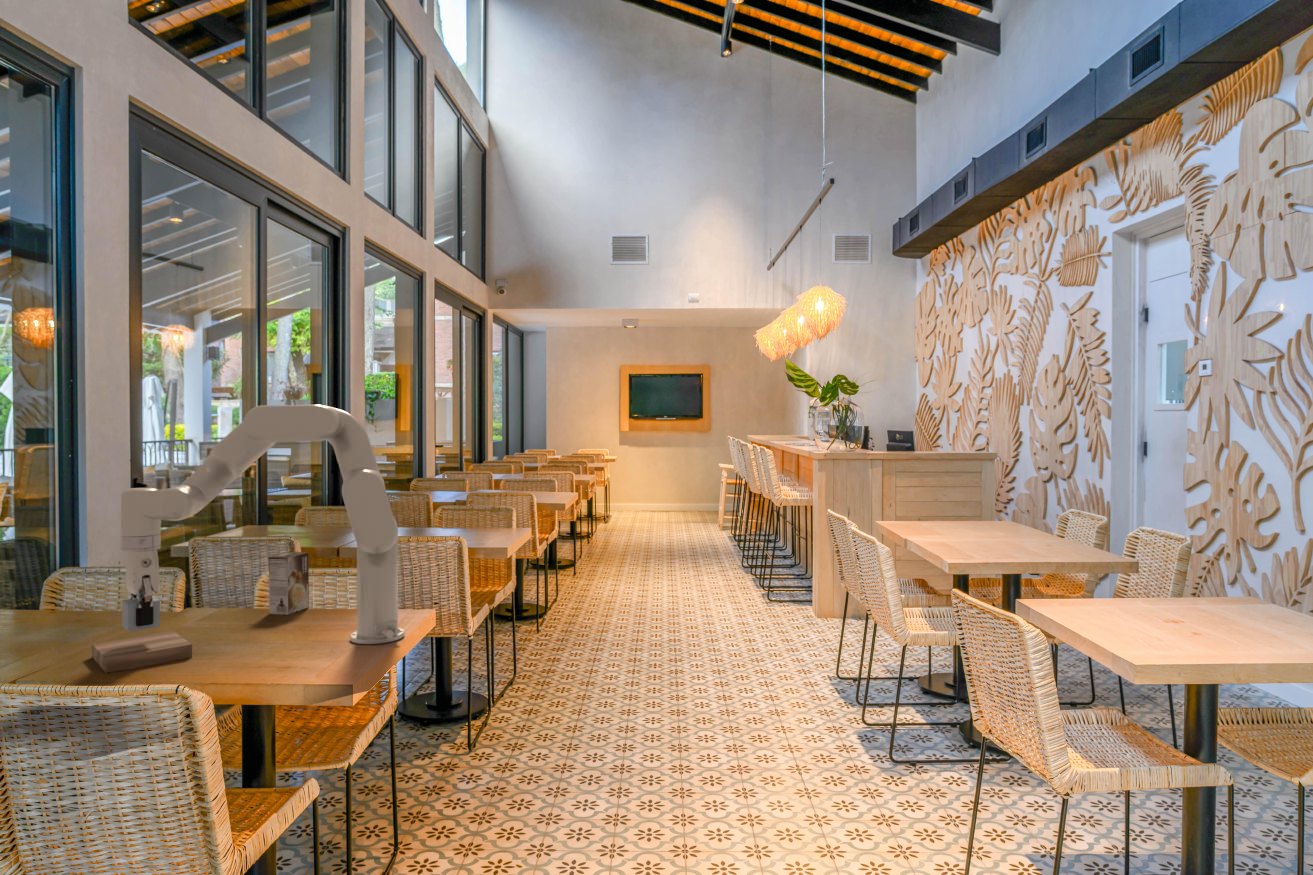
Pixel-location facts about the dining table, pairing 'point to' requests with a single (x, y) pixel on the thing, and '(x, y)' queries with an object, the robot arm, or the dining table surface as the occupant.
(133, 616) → the light grey cube
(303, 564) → the coffee box
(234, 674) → the dining table surface
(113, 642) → the walnut base
